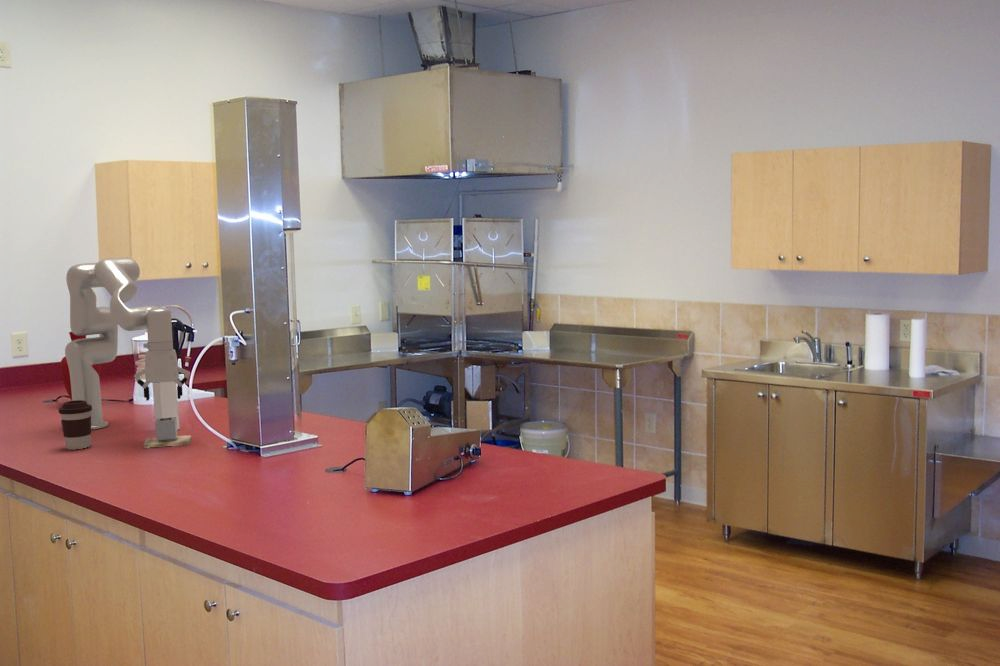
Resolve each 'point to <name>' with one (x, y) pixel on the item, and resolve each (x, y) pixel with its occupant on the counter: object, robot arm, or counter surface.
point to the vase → (65, 367)
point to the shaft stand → (167, 441)
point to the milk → (165, 400)
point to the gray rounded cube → (166, 428)
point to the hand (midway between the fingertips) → (163, 398)
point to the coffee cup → (76, 424)
